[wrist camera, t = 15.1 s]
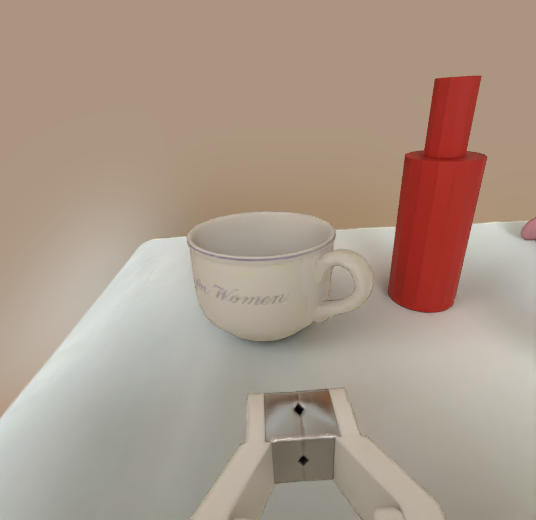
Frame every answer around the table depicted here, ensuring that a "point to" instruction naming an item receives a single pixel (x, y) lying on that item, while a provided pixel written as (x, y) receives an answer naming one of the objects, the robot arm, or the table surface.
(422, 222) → the sauce bottle
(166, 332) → the table surface
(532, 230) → the video game controller
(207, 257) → the teacup
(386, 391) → the table surface
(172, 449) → the table surface
